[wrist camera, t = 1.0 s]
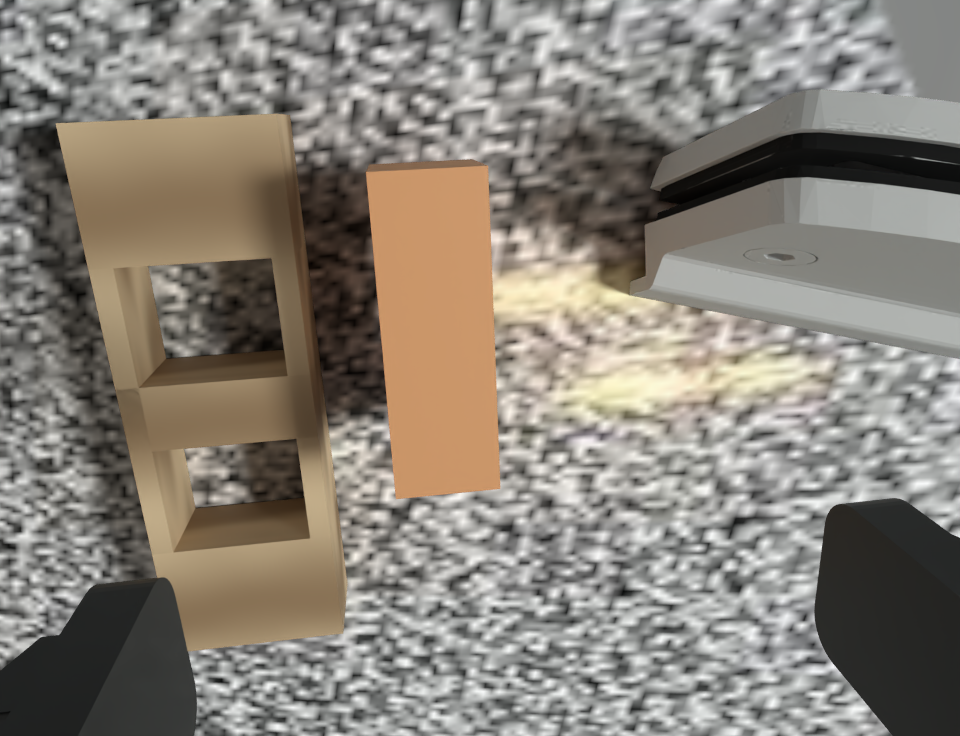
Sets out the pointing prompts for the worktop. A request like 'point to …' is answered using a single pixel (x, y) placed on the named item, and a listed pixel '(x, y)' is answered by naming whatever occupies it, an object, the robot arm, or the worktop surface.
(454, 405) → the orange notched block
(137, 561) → the worktop surface
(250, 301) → the worktop surface
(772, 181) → the grey piece
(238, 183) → the rail
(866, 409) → the worktop surface
